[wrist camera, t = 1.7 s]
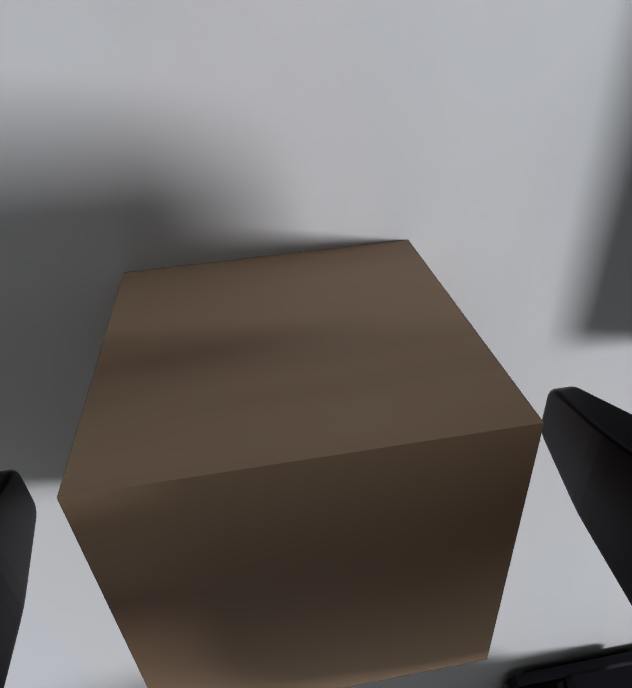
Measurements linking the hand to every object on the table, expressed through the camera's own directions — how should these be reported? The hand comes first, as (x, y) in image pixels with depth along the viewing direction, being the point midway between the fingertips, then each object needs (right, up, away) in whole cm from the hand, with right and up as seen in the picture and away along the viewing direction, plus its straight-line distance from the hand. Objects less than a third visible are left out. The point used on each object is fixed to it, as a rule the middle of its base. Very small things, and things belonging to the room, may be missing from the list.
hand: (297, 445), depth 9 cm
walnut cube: (0, +1, +2) cm, 2 cm away
